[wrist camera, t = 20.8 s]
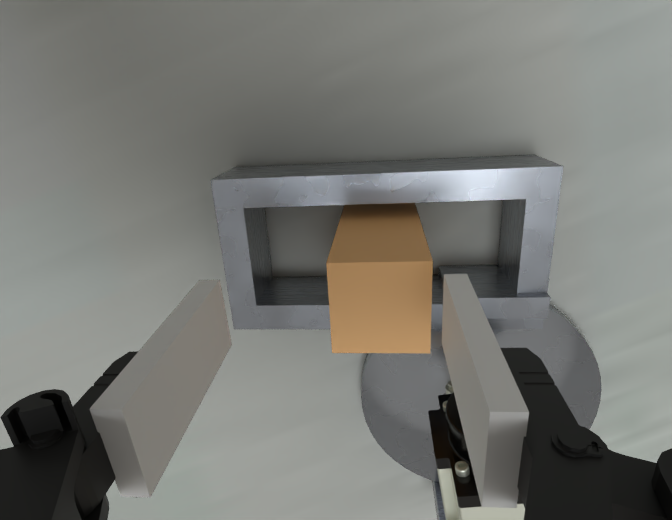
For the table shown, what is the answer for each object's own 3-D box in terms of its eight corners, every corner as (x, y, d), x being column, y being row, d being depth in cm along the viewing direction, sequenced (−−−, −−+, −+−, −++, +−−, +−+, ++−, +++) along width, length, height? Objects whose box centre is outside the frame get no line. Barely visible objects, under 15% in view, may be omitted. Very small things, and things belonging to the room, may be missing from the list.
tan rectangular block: (348, 264, 27) (332, 352, 18) (345, 201, 26) (326, 262, 17) (413, 263, 27) (430, 353, 18) (413, 199, 26) (432, 261, 16)
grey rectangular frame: (234, 167, 26) (210, 179, 22) (534, 154, 24) (563, 166, 20) (252, 298, 29) (234, 329, 25) (520, 296, 27) (542, 328, 23)
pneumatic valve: (504, 315, 26) (597, 483, 15) (518, 465, 30) (600, 687, 19) (411, 328, 27) (433, 495, 16) (436, 472, 31) (468, 688, 20)
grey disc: (357, 267, 27) (353, 298, 23) (611, 263, 26) (656, 296, 22) (366, 479, 34) (364, 534, 29) (571, 487, 32) (599, 546, 28)
